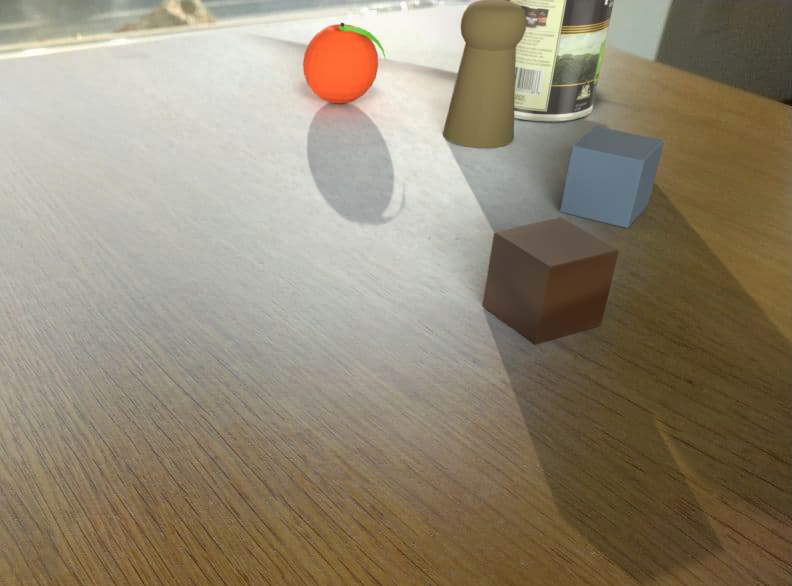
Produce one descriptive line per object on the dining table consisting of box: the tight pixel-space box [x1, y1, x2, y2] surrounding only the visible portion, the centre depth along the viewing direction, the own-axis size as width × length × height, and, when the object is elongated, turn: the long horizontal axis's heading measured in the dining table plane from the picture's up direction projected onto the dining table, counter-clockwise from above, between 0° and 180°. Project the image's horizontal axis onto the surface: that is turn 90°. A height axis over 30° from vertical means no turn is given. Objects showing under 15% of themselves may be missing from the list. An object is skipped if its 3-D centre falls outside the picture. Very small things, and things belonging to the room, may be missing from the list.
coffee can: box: [506, 0, 615, 123], centre depth 88 cm, size 10×10×14 cm
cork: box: [442, 0, 527, 149], centre depth 82 cm, size 6×6×11 cm
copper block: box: [482, 216, 620, 345], centre depth 58 cm, size 5×5×5 cm
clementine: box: [302, 22, 387, 105], centre depth 90 cm, size 8×7×7 cm
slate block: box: [559, 126, 665, 229], centre depth 71 cm, size 5×5×5 cm
